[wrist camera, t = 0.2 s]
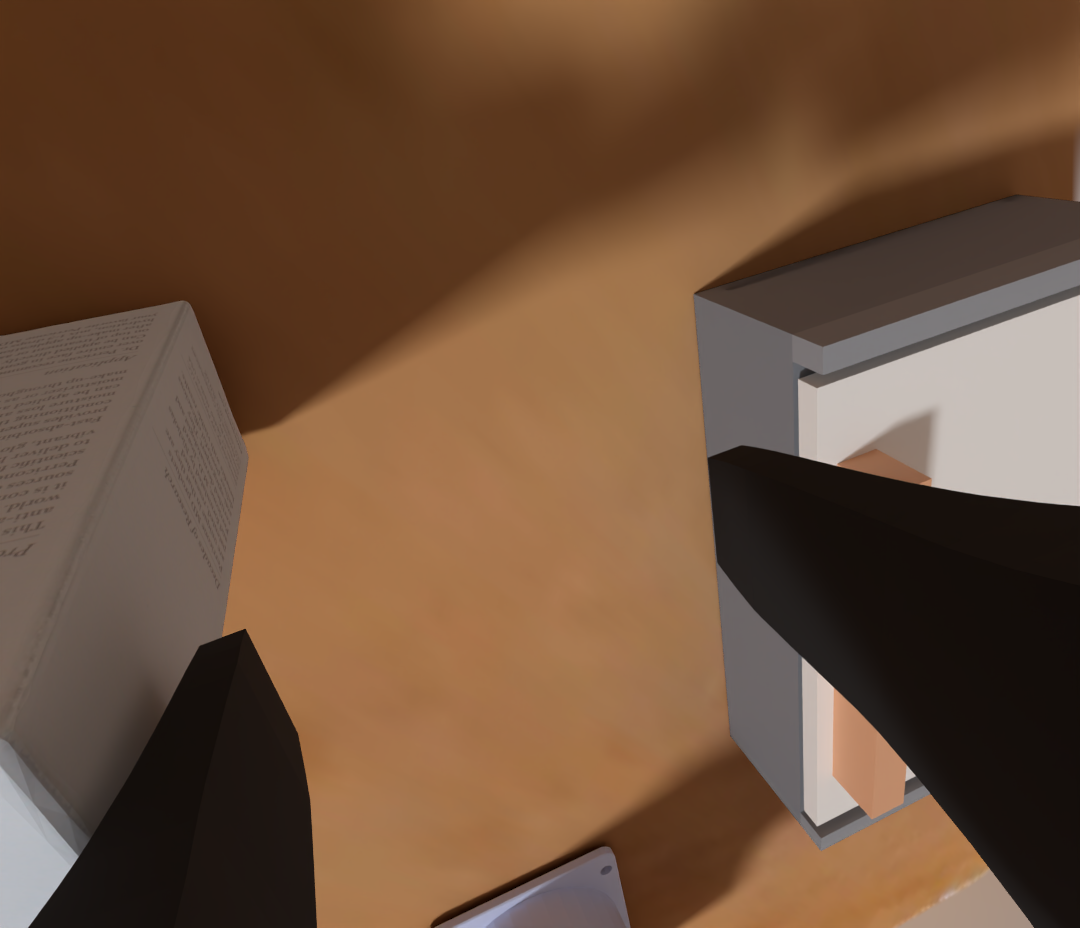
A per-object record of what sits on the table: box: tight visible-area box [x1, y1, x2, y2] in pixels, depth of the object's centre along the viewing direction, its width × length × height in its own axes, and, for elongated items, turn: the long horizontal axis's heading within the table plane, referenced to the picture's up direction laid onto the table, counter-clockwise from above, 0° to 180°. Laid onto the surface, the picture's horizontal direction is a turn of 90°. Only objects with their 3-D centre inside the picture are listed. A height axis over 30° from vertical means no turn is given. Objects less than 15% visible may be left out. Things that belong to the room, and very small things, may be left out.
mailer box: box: [694, 195, 1080, 851], centre depth 25 cm, size 19×12×6 cm, turn 11°
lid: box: [798, 285, 1080, 826], centre depth 22 cm, size 17×12×2 cm
